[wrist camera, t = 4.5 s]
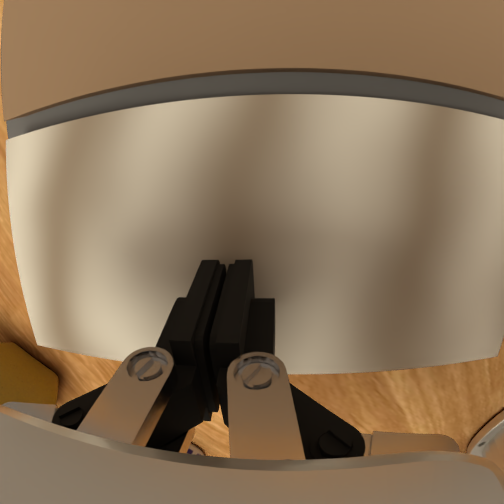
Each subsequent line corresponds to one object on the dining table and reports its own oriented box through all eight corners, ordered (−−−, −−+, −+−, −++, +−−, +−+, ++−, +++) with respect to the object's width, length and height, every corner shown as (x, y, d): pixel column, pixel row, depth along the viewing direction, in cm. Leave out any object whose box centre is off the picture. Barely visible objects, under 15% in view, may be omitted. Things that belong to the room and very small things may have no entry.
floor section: (496, -49, 6) (521, -61, 4) (471, 327, 16) (488, 355, 13) (20, -22, 9) (-9, -28, 6) (69, 320, 18) (50, 345, 16)
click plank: (507, 128, 10) (527, 126, 8) (483, 341, 12) (497, 356, 11) (26, 140, 12) (6, 139, 11) (53, 332, 15) (37, 345, 13)
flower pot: (-3, 311, 19) (-68, 384, 11) (81, 374, 21) (29, 466, 13) (-1, 365, 23) (-45, 426, 15) (69, 415, 25) (32, 486, 17)
